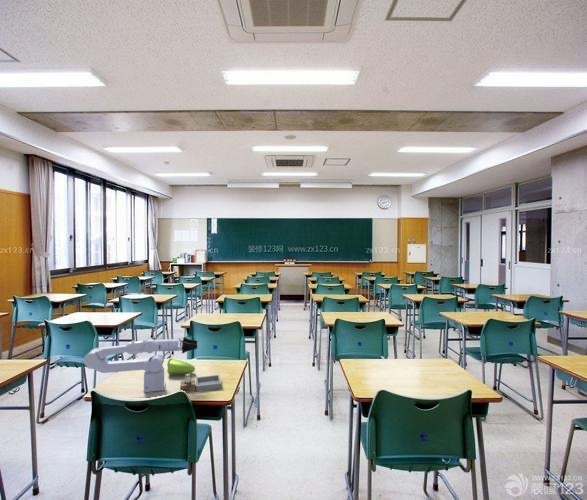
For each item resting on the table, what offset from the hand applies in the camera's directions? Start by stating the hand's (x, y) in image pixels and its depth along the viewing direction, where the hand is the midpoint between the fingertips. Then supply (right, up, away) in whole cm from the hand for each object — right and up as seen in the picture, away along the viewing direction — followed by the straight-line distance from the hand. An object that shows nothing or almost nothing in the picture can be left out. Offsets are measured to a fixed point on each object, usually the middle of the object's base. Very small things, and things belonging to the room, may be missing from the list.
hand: (197, 344), depth 173 cm
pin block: (-3, -20, -6) cm, 21 cm away
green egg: (-15, -21, +15) cm, 30 cm away
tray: (+6, -20, -2) cm, 21 cm away
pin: (-3, -20, -6) cm, 21 cm away
